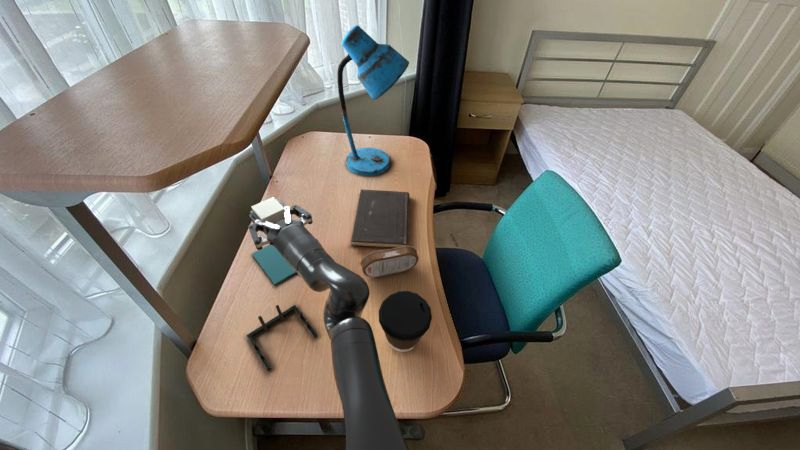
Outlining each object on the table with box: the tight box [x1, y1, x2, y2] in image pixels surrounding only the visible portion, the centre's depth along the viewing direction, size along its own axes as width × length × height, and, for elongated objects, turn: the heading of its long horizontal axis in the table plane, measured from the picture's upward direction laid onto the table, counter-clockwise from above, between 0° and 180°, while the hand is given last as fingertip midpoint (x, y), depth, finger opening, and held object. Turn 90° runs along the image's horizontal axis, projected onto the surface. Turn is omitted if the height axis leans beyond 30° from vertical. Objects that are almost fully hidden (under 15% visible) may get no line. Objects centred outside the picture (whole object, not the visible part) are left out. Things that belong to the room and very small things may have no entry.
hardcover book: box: [350, 188, 410, 249], centre depth 99 cm, size 16×23×2 cm
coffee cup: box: [378, 290, 433, 353], centre depth 69 cm, size 11×11×12 cm
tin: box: [360, 245, 419, 279], centre depth 83 cm, size 15×3×8 cm, turn 106°
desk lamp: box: [336, 24, 410, 177], centre depth 105 cm, size 16×22×45 cm
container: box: [250, 196, 285, 246], centre depth 77 cm, size 6×6×9 cm
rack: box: [246, 304, 318, 372], centre depth 70 cm, size 12×10×6 cm
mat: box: [251, 244, 298, 286], centre depth 88 cm, size 12×13×1 cm
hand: (265, 208), depth 77 cm, fingers closed on container, 5 cm apart
